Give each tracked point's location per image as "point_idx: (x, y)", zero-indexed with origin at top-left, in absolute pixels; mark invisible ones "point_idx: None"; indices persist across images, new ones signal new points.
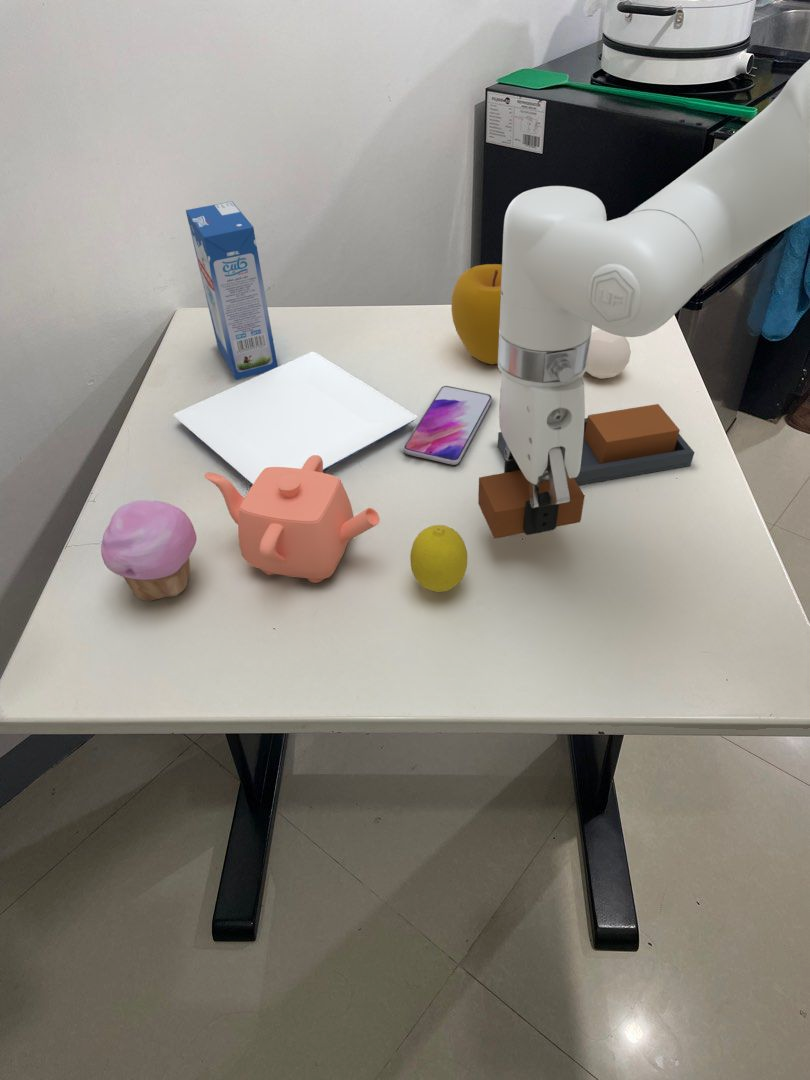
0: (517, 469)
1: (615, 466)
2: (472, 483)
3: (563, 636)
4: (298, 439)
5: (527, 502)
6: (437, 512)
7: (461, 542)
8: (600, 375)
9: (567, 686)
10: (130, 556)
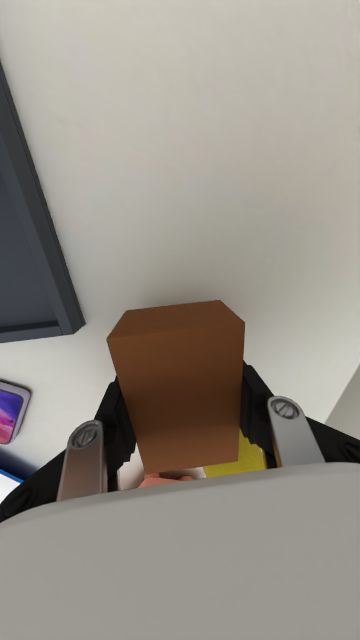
0: (131, 429)
1: (7, 146)
2: (64, 375)
3: (304, 326)
4: None
5: (255, 442)
6: None
7: (249, 466)
8: None
9: (351, 334)
10: None
